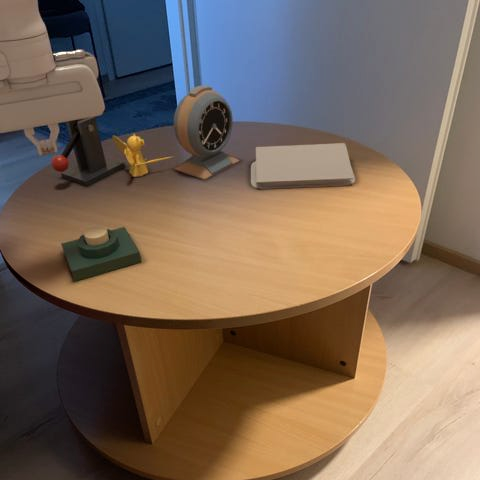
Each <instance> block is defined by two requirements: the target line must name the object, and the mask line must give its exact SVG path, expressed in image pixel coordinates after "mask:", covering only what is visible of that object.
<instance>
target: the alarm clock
mask: <svg viewBox="0 0 480 480" xmlns="http://www.w3.org/2000/svg"><path fill="white" fill-rule="evenodd" d="M233 119H234V118H233V112H232V109H231V105H229V103H228V101H227V100H226V98H225V97H223V95H221V94H220V93H219V92H217V91H216V90H213V87H212V86H209V85H198V86H197V85H196V86H195V87H194V88H192V89H191V90H189V92H187V94H185V95H184V96H183V97H182V98H181V100H179V102H178V104H177V106H176V108H175V111H174V115H173V132H174V135H175V138H176V140H177V142H178V144H179V145H180V146H181V147H182V148H183V149H184V150H185V152H187V153H188V154H190V155H191V156H190V157H189V158H187V159H186V160H184V161H183V162H182V163H181V164H180V165H178V166H177V167H175V168H174V170H175V171H178V172H181V173H184V174H186V175H189V176H192V177H195V178H198V179H200V180H204V181H206V180H207V179H209V178H211V177H213V176H215V175H216V174H219V173H220V172H222V171H224V170H226V169H228V168H230V167H232V166H233V165H236V164H237V163H240V161H241V160H240V159H238V158H236V157H233V156H231V155H229V154H226V152H224V151H222V150H223V149H224V148H225V146H226V145H227V143H228V141H229V140H230V137H231V134H232V130H233V123H234V122H233V121H234V120H233Z"/></svg>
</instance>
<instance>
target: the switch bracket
mask: <svg viewBox="0 0 480 480" xmlns="http://www.w3.org/2000/svg"><path fill="white" fill-rule="evenodd" d="M76 121H77V120H72V121H67V122H65V124H66V126H67V131H68V134H69V137H70V139H71V138H72V136H73V134H74V133H75V131H76V130H75V129H74V128H73V126H74V124H75V122H76ZM77 124H78V128H79V132H80V137H79V139H78V141H77V142H76V144H75V146H74V148H73V149H72V150H73V153H74V156H75V160H76V165H75V166H73V167H71V168H67V170H65V171H63V172H60V175H61V178H62V179H65V180H67V181H70V182H74V183H76V184H79V185H82V186H84V187H89V186H91V185H93V184H95V183H97V182H99V181H101V180H103V179H104V178H106V177H109V176H110V175H112V174H114V173H117V172H118V171H120V170H122V169H124V168H126V164H125V162H124V161H121V160H118V159H114V158H111V157H107V156H105V154H104V149H103V145H102V140H101V137H100V132H99V129H98V128H99V126H98V123H97V119H96V116H95V117H89V118H85V119H84V120H82V121H79V122H77Z"/></svg>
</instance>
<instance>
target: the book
mask: <svg viewBox="0 0 480 480" xmlns="http://www.w3.org/2000/svg"><path fill="white" fill-rule="evenodd" d="M353 170H354V169H353V168H352V164H351V161H350V156H349V152H348V149H347V145H346V143H345V142H340V143H339V142H337V143H317V144H315V143H314V144H295V145H293V144H292V145H274V146H273V145H271V146H256V147H255V161H252V163H251V165H250V185H251V186H252V187H253V188H255V189H258V190H272V189H294V188H295V189H297V188H299V189H300V188H318V187H319V188H320V187H341V186H342V187H344V186H345V187H346V186H351V185H352V184H354V183H356V175H355V174H354V171H353Z"/></svg>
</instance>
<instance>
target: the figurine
mask: <svg viewBox="0 0 480 480" xmlns="http://www.w3.org/2000/svg"><path fill="white" fill-rule="evenodd" d="M111 137H112V140H113V142H114V145H115V146H116V147H117V148H118V150H119V151H120V152H121V153H122V154H123V155H124V156H125V158H126V159H127V162H128V163H129V165H130V168H129V171H128V173H129V174H130V175H131V177H134V178H135V177H142V176H144V175H147V174H148V173H149V170H148V168H147V167H148V165H147V164H154V163H156V162H160V161H161V162H162V161H164V160H167V159H172V158H174V157H175V156H166V157H161V158H155V159H151V160H148V161H146V160H147V158H145V159H144V157H143V153H142V151H141V149H142V147H145V146H146V144H145V140H144V139H143V138H142V139H141V136H138V135H136V134H135V132H133V134H132V135H131V136H130V137H128V138H127V140H126V142H123V141H122V140H121V139H120V138H119V137H117V136H116V135H113V134H112V135H111Z"/></svg>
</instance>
